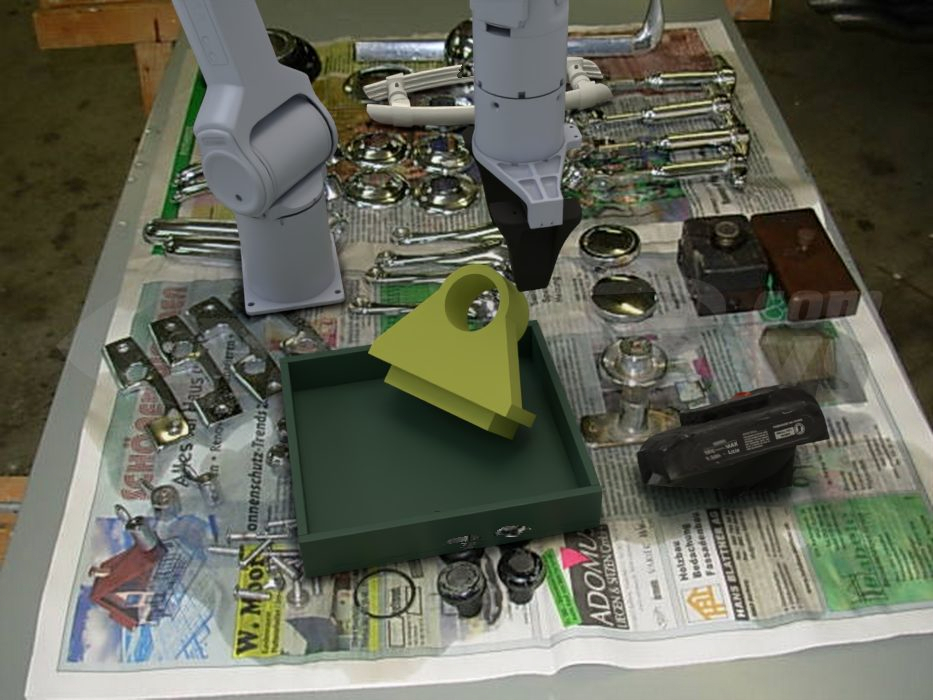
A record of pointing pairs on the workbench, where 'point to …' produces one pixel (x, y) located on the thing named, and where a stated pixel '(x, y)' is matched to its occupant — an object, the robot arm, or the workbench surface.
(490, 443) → the parts tray
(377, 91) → the door handle
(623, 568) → the workbench surface
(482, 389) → the bracket
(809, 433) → the battery
